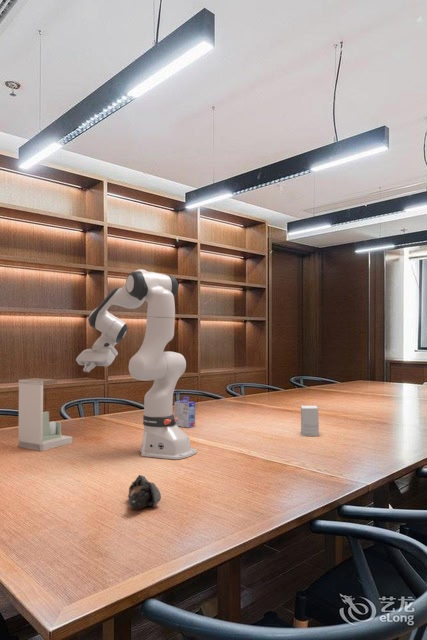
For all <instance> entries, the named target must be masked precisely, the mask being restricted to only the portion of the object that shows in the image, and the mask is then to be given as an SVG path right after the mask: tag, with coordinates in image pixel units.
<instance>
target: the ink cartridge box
mask: <svg viewBox="0 0 427 640" xmlns="http://www.w3.org/2000/svg"><path fill="white" fill-rule="evenodd" d="M189 400H190V396H186V395H185V396H183V397H182V400H177V401H174V405H173V406H174V410H173V411H174V412H173V415H174V418H177V417H178V418H177V419H176V420H177V421H176V425H177V426H178V427H179V428H180V427H181V428H187V429H188V428H189V429H190V428H195V427H196V401H189Z"/></svg>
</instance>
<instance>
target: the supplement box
mask: <svg viewBox="0 0 427 640" xmlns="http://www.w3.org/2000/svg"><path fill="white" fill-rule="evenodd" d="M319 416H320V415H319V408H318V406H317V405H300V433H301V435H302V437H319V436H320V431H319V429H320V425H319V424H320V423H319V418H320V417H319Z"/></svg>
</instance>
